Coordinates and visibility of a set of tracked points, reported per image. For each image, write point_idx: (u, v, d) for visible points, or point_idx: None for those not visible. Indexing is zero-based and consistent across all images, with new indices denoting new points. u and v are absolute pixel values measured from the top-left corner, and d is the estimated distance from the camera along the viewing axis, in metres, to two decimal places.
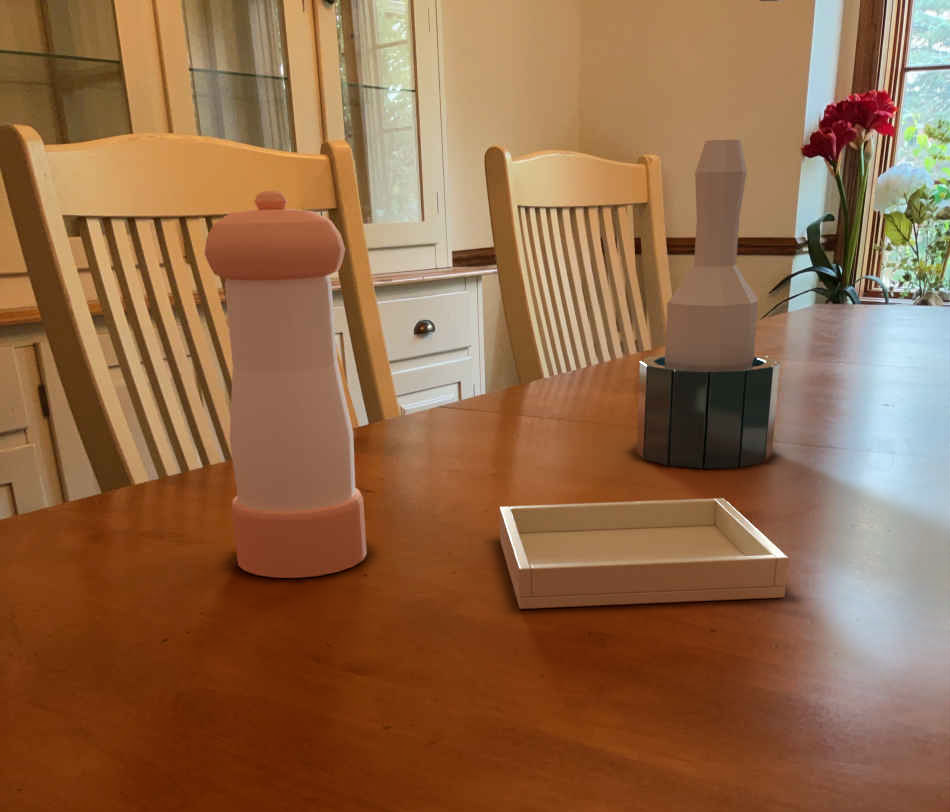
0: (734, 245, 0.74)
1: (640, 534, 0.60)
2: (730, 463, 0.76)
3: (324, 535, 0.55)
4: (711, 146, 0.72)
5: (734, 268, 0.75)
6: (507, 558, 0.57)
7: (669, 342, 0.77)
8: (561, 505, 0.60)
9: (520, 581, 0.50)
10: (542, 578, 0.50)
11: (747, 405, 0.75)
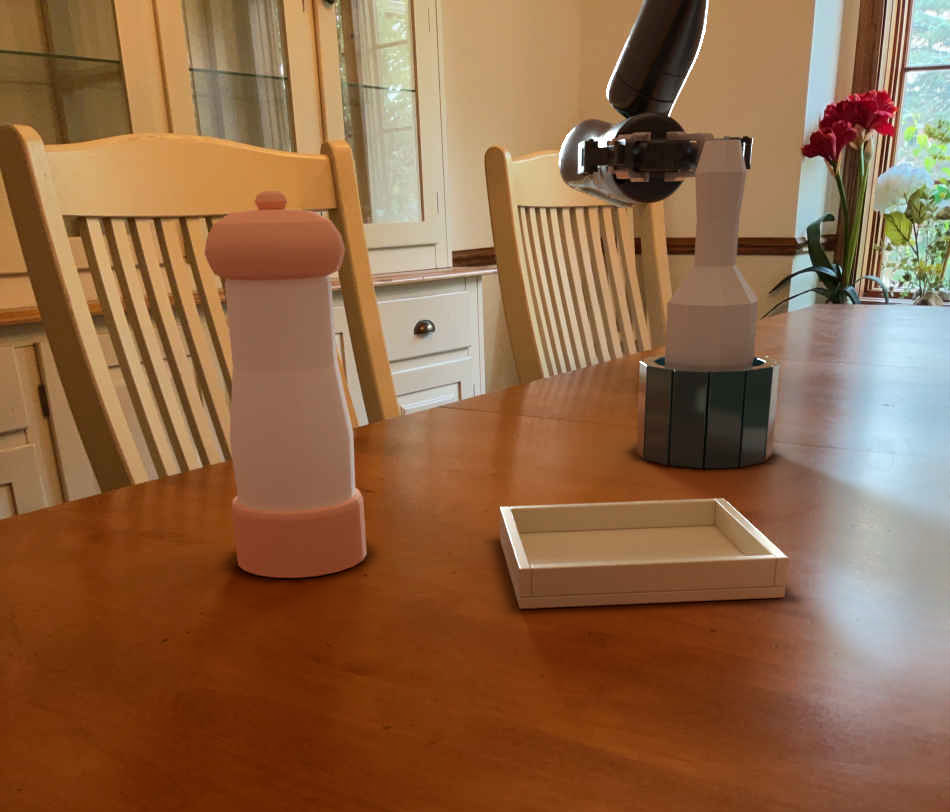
0: (734, 245, 0.74)
1: (640, 534, 0.60)
2: (730, 463, 0.76)
3: (324, 535, 0.55)
4: (711, 146, 0.72)
5: (734, 268, 0.75)
6: (507, 558, 0.57)
7: (669, 342, 0.77)
8: (561, 505, 0.60)
9: (520, 581, 0.50)
10: (542, 578, 0.50)
11: (747, 405, 0.75)
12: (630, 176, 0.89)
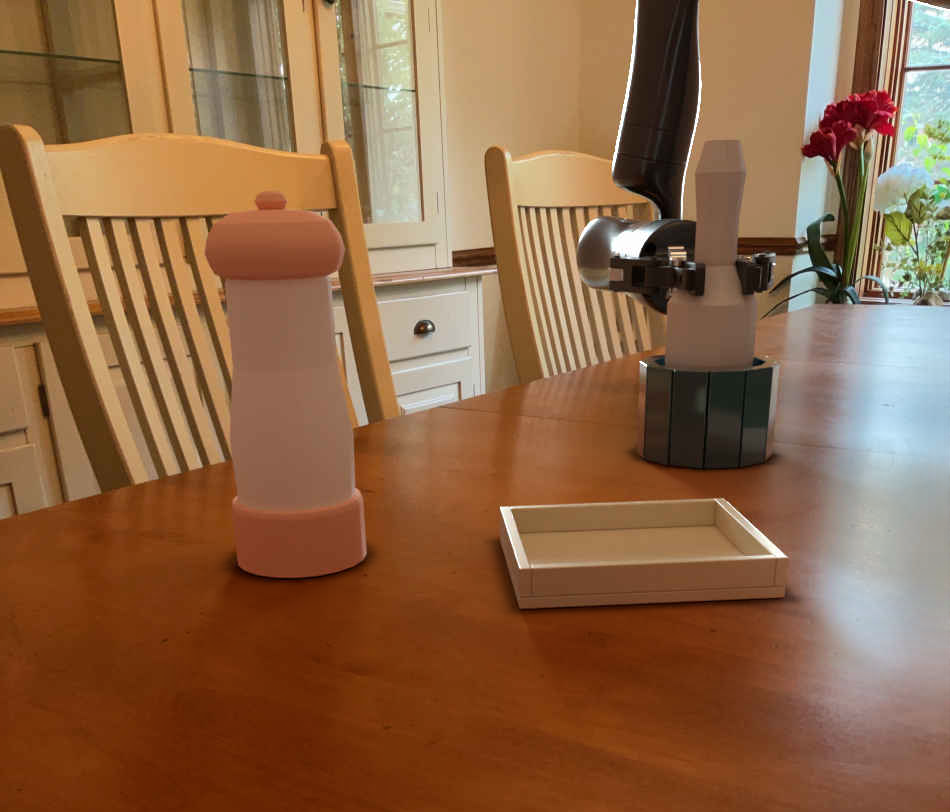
0: (734, 245, 0.74)
1: (640, 534, 0.60)
2: (730, 463, 0.76)
3: (324, 535, 0.55)
4: (711, 146, 0.72)
5: (734, 268, 0.75)
6: (507, 558, 0.57)
7: (669, 342, 0.77)
8: (561, 505, 0.60)
9: (520, 581, 0.50)
10: (542, 578, 0.50)
11: (747, 405, 0.75)
12: None
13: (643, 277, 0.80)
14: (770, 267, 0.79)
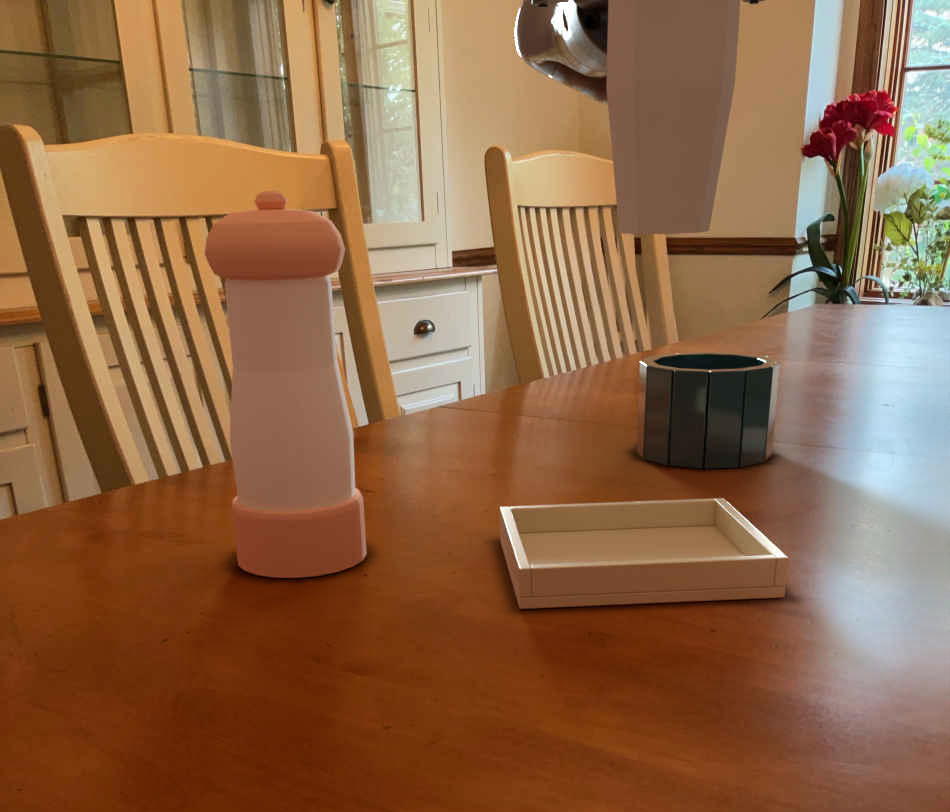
0: None
1: (640, 534, 0.60)
2: (730, 463, 0.76)
3: (324, 535, 0.55)
4: None
5: None
6: (507, 558, 0.57)
7: (612, 56, 0.53)
8: (561, 505, 0.60)
9: (520, 581, 0.50)
10: (542, 578, 0.50)
11: (747, 405, 0.75)
12: None
13: None
14: None
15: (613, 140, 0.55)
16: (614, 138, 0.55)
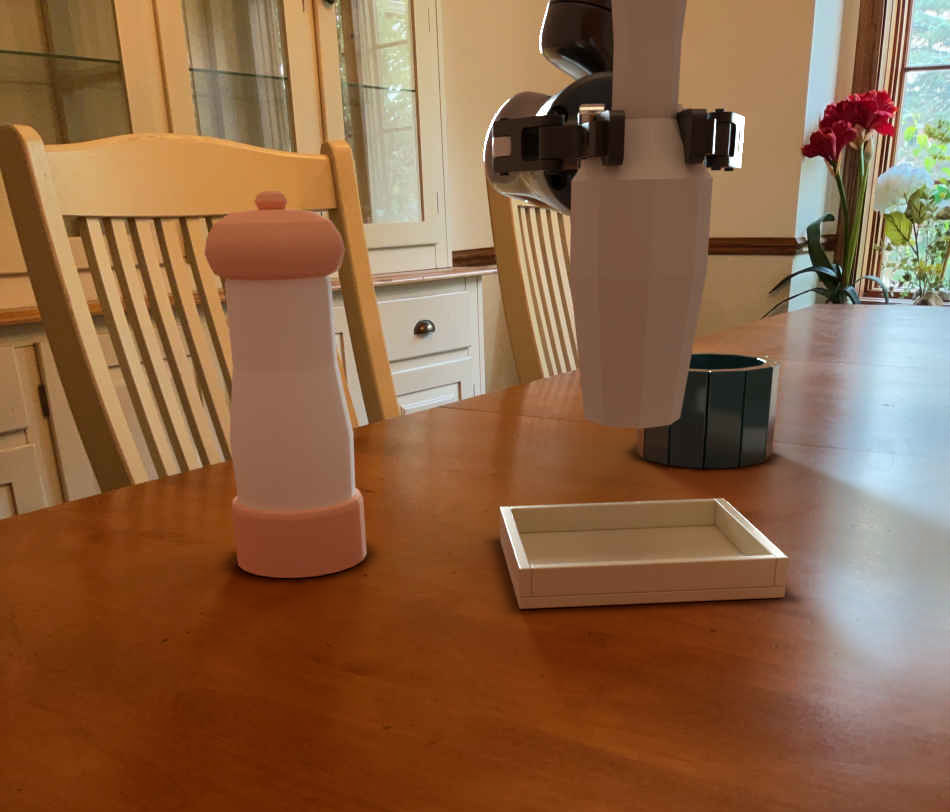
0: (673, 85, 0.47)
1: (640, 534, 0.60)
2: (730, 463, 0.76)
3: (324, 535, 0.55)
4: None
5: (673, 123, 0.47)
6: (507, 558, 0.57)
7: (575, 244, 0.50)
8: (561, 505, 0.60)
9: (520, 581, 0.50)
10: (542, 578, 0.50)
11: (747, 405, 0.75)
12: None
13: None
14: (734, 133, 0.52)
15: (577, 327, 0.52)
16: (578, 325, 0.51)
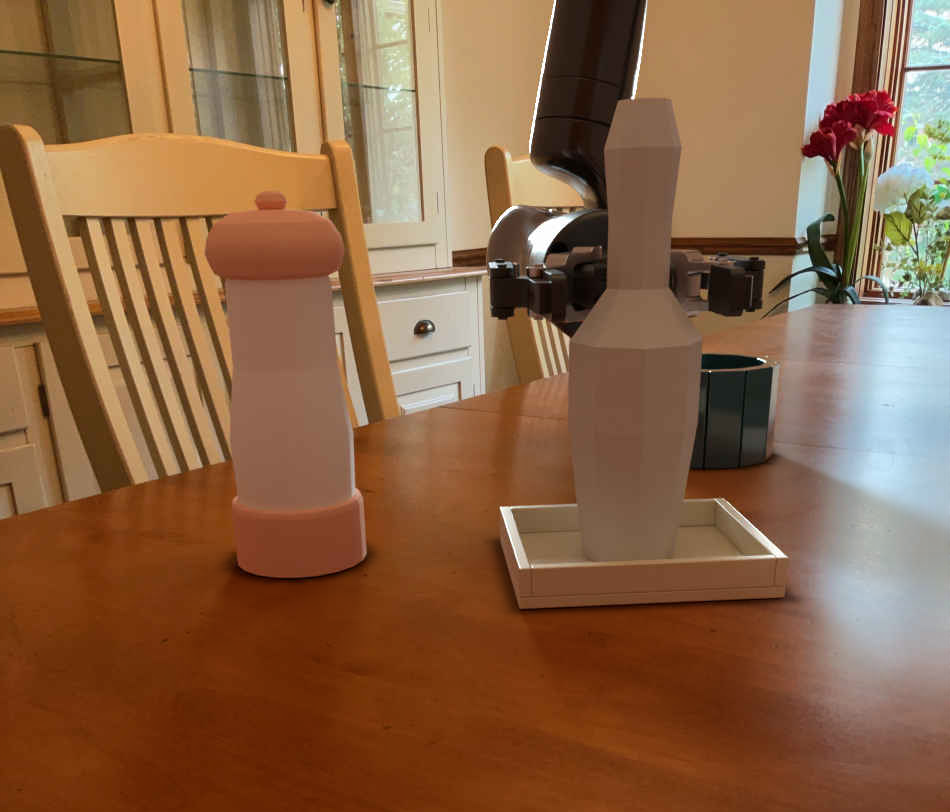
0: (664, 258, 0.50)
1: None
2: (730, 463, 0.76)
3: (324, 535, 0.55)
4: (626, 108, 0.47)
5: (665, 292, 0.50)
6: (507, 558, 0.57)
7: (573, 399, 0.53)
8: (561, 505, 0.60)
9: (520, 581, 0.50)
10: (542, 578, 0.50)
11: (747, 405, 0.75)
12: (568, 320, 0.55)
13: None
14: None
15: (575, 473, 0.54)
16: (576, 472, 0.54)
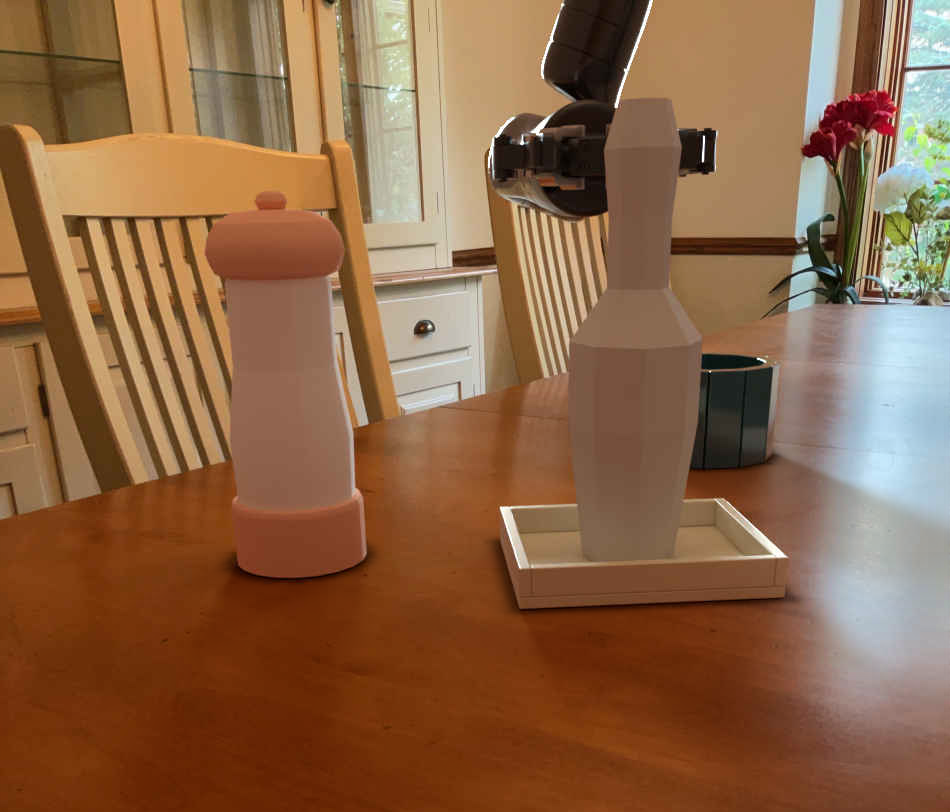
0: (664, 258, 0.50)
1: None
2: (730, 463, 0.76)
3: (324, 535, 0.55)
4: (626, 108, 0.47)
5: (665, 292, 0.50)
6: (507, 558, 0.57)
7: (573, 399, 0.53)
8: (561, 505, 0.60)
9: (520, 581, 0.50)
10: (542, 578, 0.50)
11: (747, 405, 0.75)
12: (557, 183, 0.67)
13: None
14: None
15: (575, 473, 0.54)
16: (576, 472, 0.54)
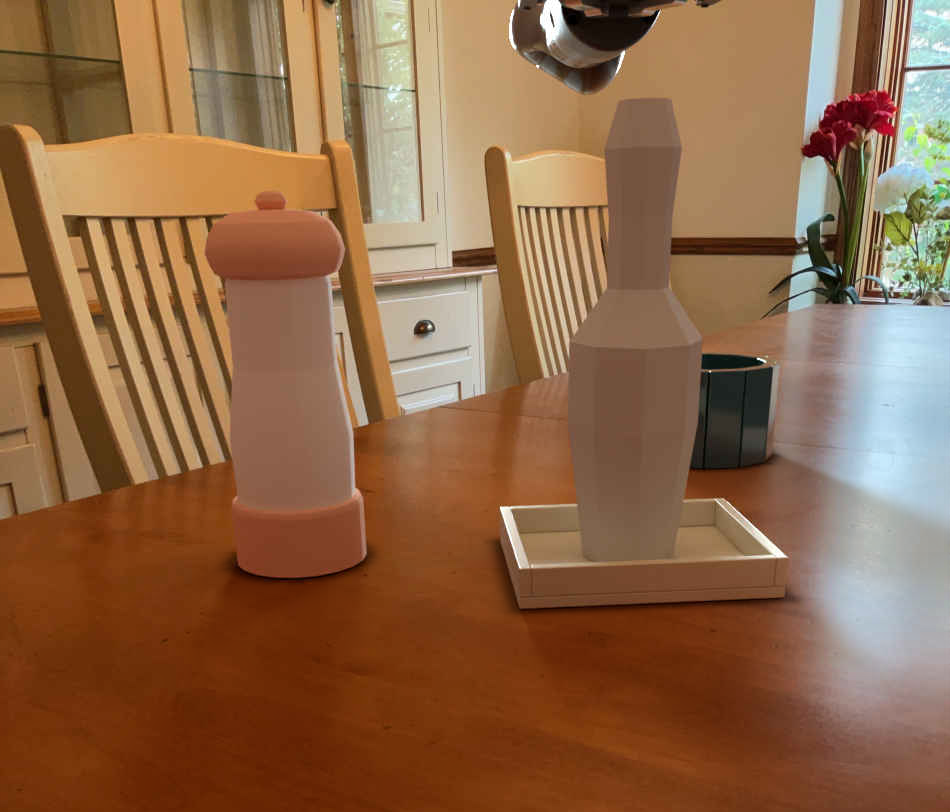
0: (664, 258, 0.50)
1: None
2: (730, 463, 0.76)
3: (324, 535, 0.55)
4: (626, 108, 0.47)
5: (665, 292, 0.50)
6: (507, 558, 0.57)
7: (573, 399, 0.53)
8: (561, 505, 0.60)
9: (520, 581, 0.50)
10: (542, 578, 0.50)
11: (747, 405, 0.75)
12: (583, 2, 0.69)
13: None
14: None
15: (575, 473, 0.54)
16: (576, 472, 0.54)
